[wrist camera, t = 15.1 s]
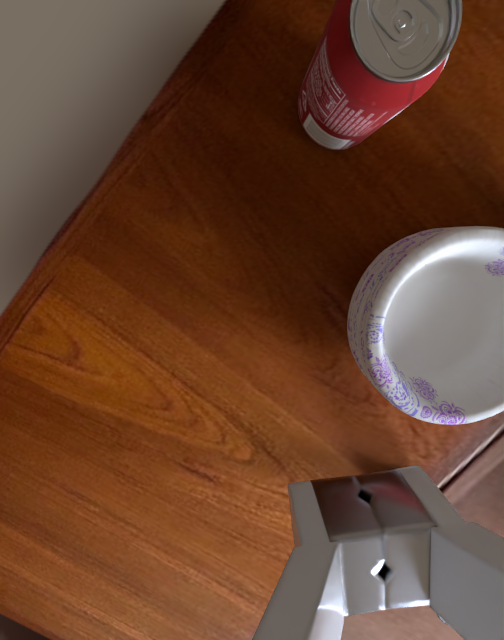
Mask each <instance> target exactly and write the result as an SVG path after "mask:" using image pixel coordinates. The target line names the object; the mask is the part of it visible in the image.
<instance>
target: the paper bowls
mask: <svg viewBox="0 0 504 640" xmlns="http://www.w3.org/2000/svg"><path fill="white" fill-rule="evenodd" d="M347 333H348V339H349V345H350V349H351V352H352V354H353V357H354V359H355V361H356V363H357V365H358V367H359V368H360V370H361V371H362V373H363V374H364V375H365V376H366V378H367V379H368V380H369V381H370V382H371V383H372V384H373V386H374V387H375V388H376V389H378V391H379V392H380V393H381V394H382V395H383V396H384V397H385V398H386V399H387V400H388V401H389V402H391V403H392V404H393V405H394V406H395V407H397V408H398V409H400V410H401V411H403V412H404V413H406V414H408V415H410V416H412V417H415V418H417V419H420V420H423V421H426V422H431V423H437V424H450V425H454V424H466V423H471V422H476V421H479V420H482V419H485V418H488V417H491V416H493V415H495V414H497V413H500V412H502V411H504V229H503V228H498V227H489V226H468V227H449V228H436V229H430V230H425V231H422V232H418V233H415V234H413V235H410V236H407V237H405V238H403V239H401V240H399V241H397V242H395V243H394V244H392V245H391V246H389V247H388V248H386V249H385V250H383V251H382V252H381V253H380V254H379V255H378V256H377V257H376V258H375V259H374V261H373V262H372V263H371V264H370V265H369V267H368V268H367V269H366V271H365V272H364V274H363V275H362V277H361V278H360V281H359V283H358V284H357V286H356V288H355V291H354V293H353V296H352V299H351V302H350V306H349V312H348V321H347Z"/></svg>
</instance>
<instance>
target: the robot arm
mask: <svg viewBox="0 0 504 640" xmlns="http://www.w3.org/2000/svg"><path fill="white" fill-rule="evenodd" d="M288 493H289V503H290V512H291V521H292V529H293V537H294V544H295V547H294V549H293V551H292V553H291V555H290V557H289V560H288V562H287V564H286V566H285V568H284V571H283V573H282V575H281V577H280V579H279V582H278V584H277V586H276V588H275V590H274V593H273V595H272V597H271V599H270V601H269V604H268V606H267V608H266V610H265V612H264V615H263V617H262V619H261V621H260V623H259V626H258V628H257V630H256V632H255V634H254V637H253V639H252V640H340V638H341V633H342V628H343V623H344V617H345V616H350V615H356V614H361V613H367V612H372V611H378V610H384V609H392V608H401V607H410V606H419V605H428V604H430V608H431V609H432V610H434V611H435V612H436V613H437V614H438V615H439V616H440V617H441V618H442V619H443V620H444V621H445V622H446V623H448V624H449V625H450V626H451V627H452V628H453V629H454V630H455V631H456V632H457V633H458V634H459V635H460V636H462V637H463V638H464V639H465V640H504V538H503V537H501V536H499V535H497V534H495V533H493V532H491V531H490V530H488V529H486V528H484V527H482V526H480V525H478V524H476V523H475V522H470V523H466V522H465V521H464V519H463V518H462V517H461V516H460V515H459V513H458V512H457V511H456V510H455V508H454V507H453V506H452V505H451V503H450V502H449V501H448V500H447V498H446V497H445V496H444V495H443V494H442V492H441V491H440V490H439V489H438V487H437V486H436V485H435V484H434V482H433V481H432V480H431V479H430V477H429V476H428V475H427V474H426V473H425V471H424V470H423V469H422V468H421V467H419V466H411V467H405V468H398V469H395V470H388V471H381V472H375V473H368V474H361V475H354V476H345V477H336V478H327V479H318V480H310V481H304V482H295V483H288Z"/></svg>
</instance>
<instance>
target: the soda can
mask: <svg viewBox="0 0 504 640" xmlns="http://www.w3.org/2000/svg"><path fill="white" fill-rule="evenodd" d="M461 19H462V0H337V2H336V4H335V6H334V8H333V11H332V13H331V16H330V18H329V20H328V23H327V25H326V28H325V30H324V32H323V35H322V37H321V39H320V42H319V44H318V47H317V49H316V51H315V54H314V56H313V59H312V61H311V63H310V66H309V68H308V71H307V73H306V75H305V78H304V80H303V82H302V85H301V88H300V91H299V95H298V115H299V119H300V122H301V125H302V127H303V129H304V131H305V132H306V134H307V135H308V136H309V138H310V139H311V140H313V141H314V142H315V143H316V144H318V145H319V146H321V147H324V148H327V149H331V150H344V149H348V148H351V147H354V146H356V145H357V144H359V143H361V142H362V141H363V140H365V139H366V138H367V137H368V136H370V135H371V134H372V133H374V132H375V131H376V130H378V129H379V128H380V127H381V126H383V125H384V124H385V123H387V122H388V121H389V120H391V119H392V118H393V117H395V116H396V115H397V114H398V113H400V112H401V111H402V110H404V109H405V108H406V107H408V106H409V105H410V104H411V103H413V102H414V101H415V100H417V99H418V98H419V97H421V96H422V95H423V94H424V93H425V92H426V91H427V90H428V89H429V88H430V87H431V86H432V85H433V84H434V82H435V81H436V80H437V78H438V77H439V75H440V74H441V72H442V70H443V68H444V66H445V64H446V61H447V59H448V56H449V53H450V51H451V49H452V47H453V45H454V43H455V41H456V39H457V36H458V33H459V29H460V25H461Z"/></svg>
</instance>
